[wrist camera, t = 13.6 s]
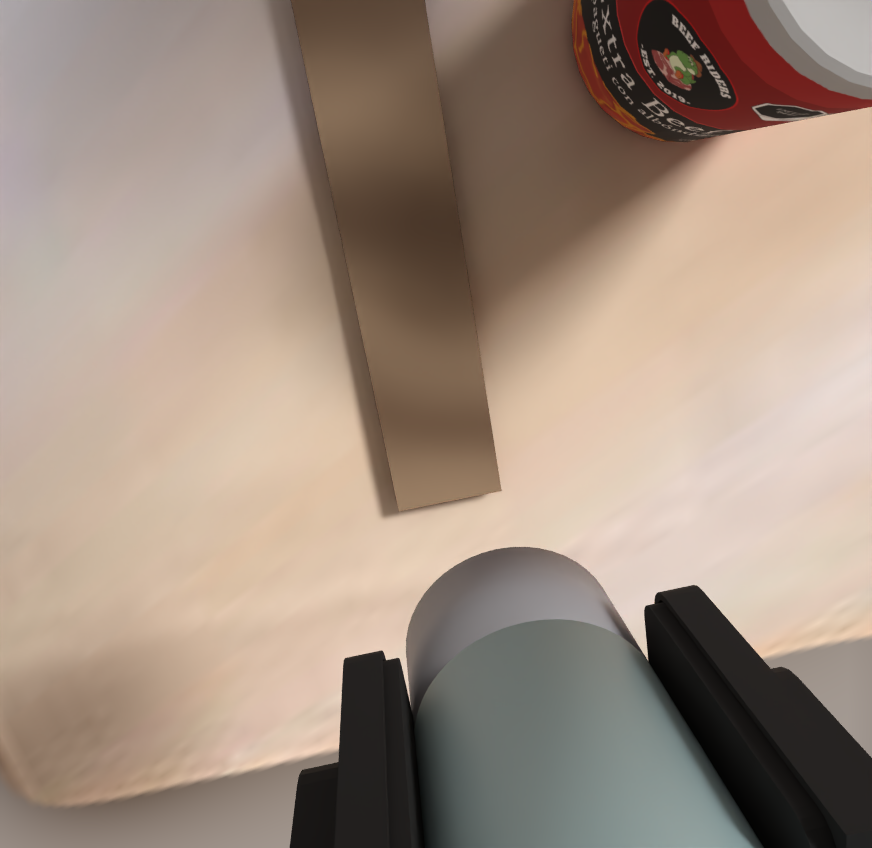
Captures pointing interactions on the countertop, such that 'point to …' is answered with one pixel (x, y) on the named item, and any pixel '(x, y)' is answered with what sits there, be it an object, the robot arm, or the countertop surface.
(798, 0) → the canned food
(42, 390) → the countertop surface
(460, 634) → the peg
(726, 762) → the robot arm
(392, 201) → the batten
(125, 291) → the countertop surface
